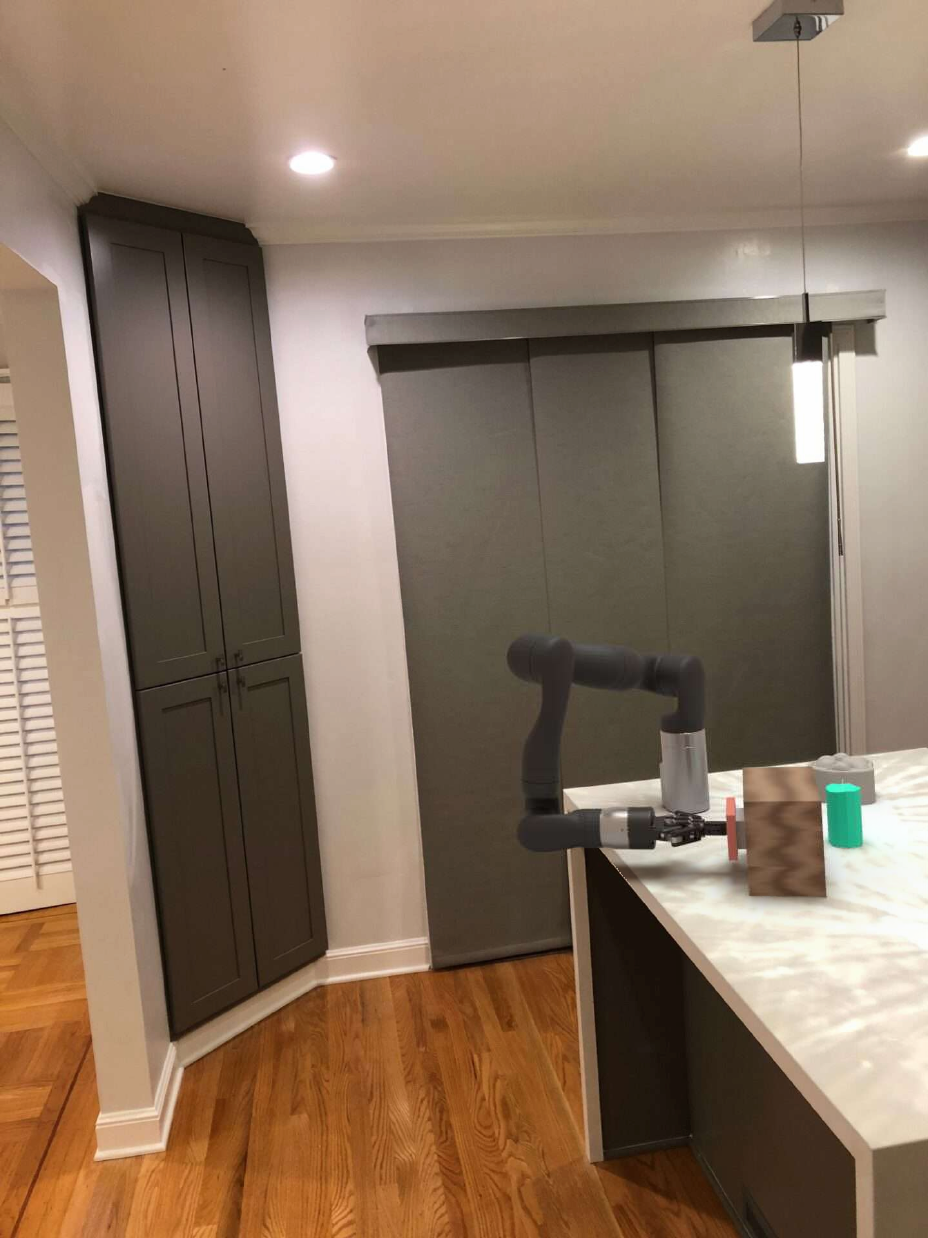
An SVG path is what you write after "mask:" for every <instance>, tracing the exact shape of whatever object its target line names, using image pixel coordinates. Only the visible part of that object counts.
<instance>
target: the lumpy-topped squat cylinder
mask: <svg viewBox="0 0 928 1238" xmlns="http://www.w3.org/2000/svg"><path fill="white" fill-rule="evenodd" d="M807 766H812V768H813V772H814V776H815V780H816V783H817V787H818V791H819V794H820V798H821V804H825V803H827V802H826V787H827V786H828V785H830V784H842V779H843V784H847V783H849V784H852V785H854V786H856V787H860V791H861V806H868V805H872V804H873V805H874V804H875V803H876V781H875V768H874V762H873V761H872V760H870V759H867V758H866V757H865V756H861V755H853V756H850V755H848V754H847V753H845V752H838V753H835V754H833V755H821V756H820V757H819V758H818V759H817V760H812V761H811V762H808V763H807Z"/></svg>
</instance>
